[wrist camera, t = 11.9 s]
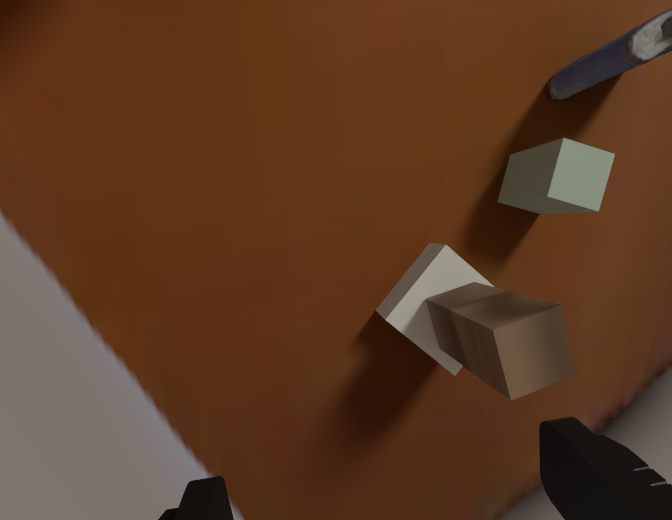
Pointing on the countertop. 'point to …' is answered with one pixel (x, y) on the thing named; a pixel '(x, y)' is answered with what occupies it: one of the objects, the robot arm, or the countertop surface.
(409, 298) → the base block
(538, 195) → the sage block
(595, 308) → the countertop surface
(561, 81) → the flask
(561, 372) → the walnut pillar
